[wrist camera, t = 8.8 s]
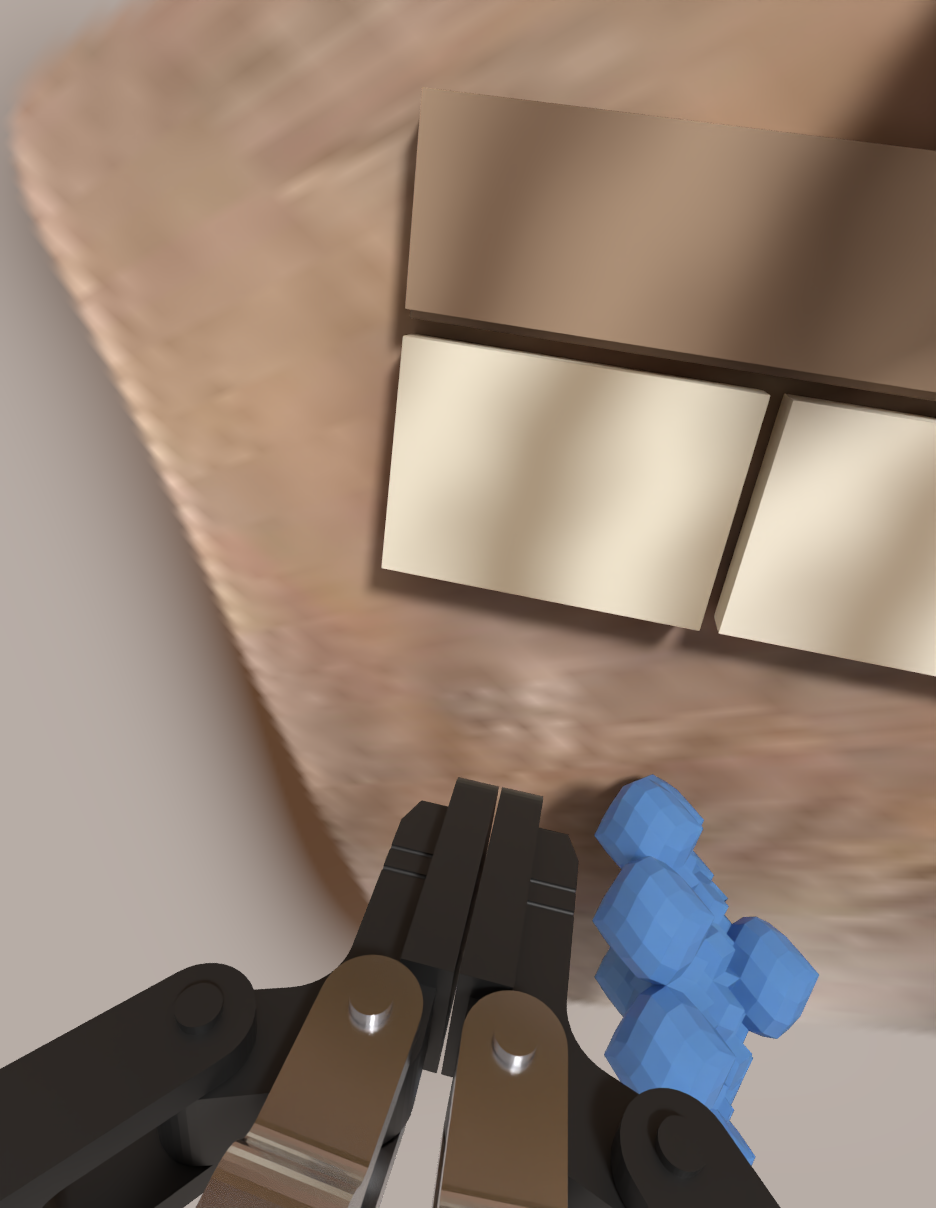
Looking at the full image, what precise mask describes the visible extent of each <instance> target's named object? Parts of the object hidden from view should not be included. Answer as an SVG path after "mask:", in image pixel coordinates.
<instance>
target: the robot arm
mask: <svg viewBox="0 0 936 1208" xmlns="http://www.w3.org/2000/svg"><path fill="white" fill-rule="evenodd" d="M498 789H499V786H494V785H490V784H486V783H481V782H477V781H473V780H468V779H464V778H460V777H458V779H457V781H456V784H455V787H454V790H453V794H452V797H451V800H450V803H449V806H448V807H447V806H443V805H439V804H435V803H430V802H426V801H421V802H419V803H418V804H417V805H416V806H415V807H414V808H413V809H412V810H411V811H410V812H409V813H408V814H407V815H406V816H404V817H403V818H402V819H401V822H400V824H399V827H398V830H397V832H396V835H395V837H394V840H393V842H392V846H391V849H390V850H389V853H388V855H387V858H386V860H385V863H384V867H383V870H382V871H381V873H380V876H379V879H378V881H377V884H376V886H375V889H374V891H373V894H372V897H371V899H370V902H369V904H368V907H367V909H366V912H365V915H364V917H363V920H362V923H361V925H360V928H359V930H358V933H357V935H356V938H355V940H354V943H353V946H352V948H351V950H350V952H349V954H348V955H347V957H346V958H345V960H344V961H343V962H342V963H341V964H340V965H339V966H338V967H337V968H336V969H335V970H334V971H332V972H331V973H330V974H328V975H327V976H325V977H323V978H322V979H320V980H318V981H315V982H313V983H310V984H307V985H303V986H297V987H290V988H289V987H288V988H273V989H258V990H254V989H253V987H252V985H251V983H250V981H249V980H248V979H247V978H246V976H245V975H243V974H242V973H241V972H240V971H238V970H236V969H235V968H233V967H230V966H227V965H224V964H218V963H205V964H199V965H195V966H191V967H188V968H186V969H184V970H181V971H179V972H177V973H175V974H174V975H172V976H170V977H168V978H166V979H164V980H163V981H161V982H159V983H157V984H155V985H153V986H151V987H150V988H148V989H146V990H144V991H142V992H140V993H139V994H137V995H135V996H133V997H131V998H130V999H128V1000H126V1001H124V1002H122V1003H120V1004H119V1005H117V1006H115V1007H113V1008H111V1009H109V1010H107V1011H106V1012H104V1013H102V1014H100V1015H98V1016H97V1017H95V1018H93V1019H91V1020H89V1021H87V1022H85V1023H84V1024H82V1025H80V1026H78V1027H76V1028H75V1029H73V1030H71V1031H69V1032H67V1033H65V1034H63V1035H62V1036H60V1037H58V1038H56V1039H54V1040H52V1041H51V1042H49V1043H47V1044H45V1045H43V1046H41V1047H40V1048H38V1049H36V1050H35V1051H32V1052H31V1053H29V1054H27V1055H25V1056H23V1057H21V1058H20V1059H18V1060H16V1061H14V1062H12V1063H10V1064H9V1065H7V1066H5V1067H3V1068H1V1069H0V1208H183V1207H185V1206H186V1205H187V1204H189V1203H190V1202H191V1201H193V1200H194V1199H195V1198H197V1197H198V1196H199V1195H201V1194H202V1193H203V1194H202V1196H201V1198H200V1200H199V1202H198V1204H197V1206H196V1208H379V1207H380V1204H381V1201H382V1198H383V1195H384V1191H385V1188H386V1185H387V1182H388V1179H389V1176H390V1173H391V1170H392V1167H393V1164H394V1161H395V1157H396V1155H397V1151H398V1148H399V1145H400V1142H401V1139H402V1136H403V1133H404V1130H405V1126H406V1123H407V1121H408V1119H409V1117H410V1115H411V1112H412V1109H413V1105H414V1101H415V1097H416V1093H417V1089H418V1085H419V1080H420V1077H421V1073H422V1069H423V1070H427V1071H430V1072H434V1073H437V1069H438V1065H439V1061H440V1056H441V1052H442V1048H443V1043H444V1038H445V1035H446V1030H447V1026H448V1021H449V1017H450V1013H451V1008H452V1004H453V1000H454V996H455V1000H454V1005H453V1011H452V1016H451V1023H450V1027H449V1033H448V1039H447V1045H446V1050H445V1056H444V1061H443V1067H442V1072H441V1074H443V1075H446V1076H450V1077H453V1081H452V1086H451V1091H450V1097H449V1102H448V1107H447V1112H446V1117H445V1123H444V1128H443V1133H442V1138H441V1145H440V1151H439V1159H438V1166H437V1173H436V1181H435V1187H434V1194H433V1202H432V1208H780V1207H779V1205H778V1204H777V1202H776V1201H775V1199H774V1198H773V1196H772V1195H771V1194H770V1192H769V1191H768V1189H767V1188H766V1186H765V1185H764V1184H763V1182H762V1181H761V1179H760V1178H759V1176H758V1175H757V1173H756V1172H755V1171H754V1169H753V1168H752V1166H751V1165H750V1163H749V1162H748V1161H747V1159H746V1158H745V1156H744V1155H743V1153H742V1152H741V1150H740V1149H739V1148H738V1146H737V1145H736V1143H735V1142H734V1140H733V1139H732V1138H731V1136H730V1135H729V1133H728V1132H727V1130H726V1129H725V1128H724V1126H723V1125H722V1123H721V1122H720V1121H719V1120H718V1118H717V1117H716V1116H715V1115H714V1114H713V1113H712V1112H711V1111H710V1110H709V1109H708V1108H707V1107H706V1106H705V1105H704V1104H702V1103H701V1102H700V1101H699V1100H697V1099H695V1098H694V1097H692V1096H690V1095H689V1094H686V1093H684V1092H681V1091H679V1090H675V1089H670V1088H654V1089H649V1090H647V1091H644V1092H642V1093H640V1094H638V1093H637V1092H635V1091H634V1090H632V1089H630V1088H629V1087H627V1086H626V1085H624V1084H623V1083H621V1082H620V1081H618V1080H616V1079H615V1078H613V1077H612V1076H610V1075H609V1074H607V1073H606V1072H605V1071H603V1070H601V1069H600V1068H599V1067H598V1066H597V1065H595V1063H593V1062H592V1061H591V1060H590V1059H589V1058H588V1057H587V1055H586V1054H585V1053H584V1052H583V1050H582V1049H581V1048H580V1046H579V1044H578V1043H577V1041H576V1040H575V1037H574V1035H573V1033H572V1031H571V1028H570V1025H569V1021H568V1016H567V991H568V979H569V968H570V956H571V944H572V932H573V921H574V917H573V916H574V909H575V897H576V894H575V892H576V885H577V874H578V862H579V861H578V859H577V856H576V854H575V851H574V849H573V846H572V843H571V841H570V838H569V836H568V835H567V834H563V833H559V832H554V831H550V830H546V829H542V828H539V822H540V815H541V809H542V803H543V796H539V795H534V794H530V793H526V792H521V791H517V790H513V789H508V788H504V787H502V790H501V795H500V799H499V803H498V808H497V812H496V816H495V820H494V825H493V829H492V833H491V828H492V822H493V817H494V811H495V806H496V800H497V795H498ZM490 833H491V838H490ZM489 838H490V842H489ZM488 844H489V846H488ZM487 849H488V851H487ZM486 854H487V855H486ZM456 987H457V988H456ZM455 991H456V994H455Z"/></svg>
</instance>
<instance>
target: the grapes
mask: <svg viewBox="0 0 936 1208" xmlns="http://www.w3.org/2000/svg"><path fill="white" fill-rule="evenodd" d="M703 821H704V820H703V818H702V817H701V816H700V815H699V814H698V813H697V811H696V810H695V809H694V808H693V807H692V806H691V804H690V803H689V802H688V801H687V800H686V799H685V798H684V797H683V796H682V795H681V794H680V792H679V791H678V790H677V789H675V788H674V787H673V786H671V785H670V784H668V783H667V782H665V781H664V780H662V779H660V778H658V777H656V776H655V775H650V776H647V777H644V778H642V779H639V780H636V781H634V782H632V783H630V784H627V785H624V786H623V787H622V789H621V790H620V792H619V793H618V794H617V796H616V797H615V799H614V800H613V802H612V803H611V805H610V806H609V808H608V810H607V811H606V813H605V815H604V817H603V819H602V821H601V823H600V825H599V827H598V829H597V831H596V833H595V835H594V836H595V837H596V838H597V840H598V841H599V843H600V844H601V845H602V847H603V848H604V849H605V851H606V852H607V853H608V855H609V856H610V857H611V858H612V859H613V860H614V861H615V862H616V864H617V865H618V866H619V867H620V868H621V869H622V870H621V872H620V873H619V875H618V876H617V878H616V879H615V881H614V882H613V884H612V885H611V887H610V888H609V890H608V891H607V893H606V895H605V896H604V898H603V899H602V901H601V904H600V906H599V908H598V910H597V912H596V914H595V916H594V918H593V920H592V921H593V923H594V924H595V926H596V927H597V929H598V930H599V932H600V933H601V935H602V936H603V937H604V939H605V940H606V942H607V943H608V944H609V946H610V948H609V950H608V952H607V953H606V955H605V956H604V958H603V960H602V962H601V964H600V967H599V969H598V971H597V973H596V975H595V979H596V980H597V982H598V983H599V985H600V986H601V988H602V990H603V991H604V993H605V994H606V996H607V997H608V999H609V1000H610V1001H611V1002H612V1004H613V1005H614V1006H615V1007H616V1009H617V1010H618V1011H619V1013H620V1014H621V1015H622V1016H623V1019H622V1021H621V1022H620V1024H619V1025H618V1027H617V1029H616V1030H615V1032H614V1035H613V1037H612V1039H611V1041H610V1043H609V1045H608V1047H607V1049H606V1051H605V1054H604V1055H605V1057H606V1059H607V1060H608V1062H609V1064H610V1065H611V1067H612V1069H613V1070H614V1072H615V1073H616V1075H617V1077H618V1078H619V1080H620V1082H621V1083H623V1084H624V1085H626V1086H627V1087H629V1088H630V1089H632V1090H634V1091H635V1092H637V1093H638V1094H640V1093H642V1092H644V1091H647V1090H649V1089H654V1088H670V1089H675V1090H679V1091H681V1092H684V1093H686V1094H689V1095H690V1096H692V1097H694V1098H695V1099H697V1100H699V1101H700V1102H701V1103H702V1104H704V1105H705V1106H706V1107H707V1108H708V1109H709V1110H710V1111H711V1112H712V1113H713V1114H714V1115H715V1116H716V1117H717V1118H718V1120H719V1121H720V1122H721V1123H722V1125H723V1126H724V1128H725V1129H726V1130H727V1132H728V1133H729V1135H730V1136H731V1138H732V1139H733V1140H734V1142H735V1143H736V1145H737V1146H738V1148H739V1149H740V1150H741V1152H742V1153H743V1155H744V1156H745V1158H746V1159H747V1161H748V1162H749V1163H750V1165H751V1166H752V1163H753V1161H754V1159H755V1155H754V1154H753V1153H752V1151H751V1149H750V1148H749V1146H748V1145H747V1144H746V1142H745V1141H744V1139H743V1138H742V1136H741V1135H740V1133H739V1132H738V1131H737V1129H736V1128H735V1127H734V1126H733V1125H732V1123H731V1122H730V1121H729V1120H730V1118H731V1116H732V1113H733V1111H734V1109H733V1108H732V1106H731V1104H732V1102H733V1100H734V1098H735V1096H736V1093H737V1091H738V1089H739V1087H740V1085H741V1082H742V1080H743V1078H744V1076H745V1074H746V1072H747V1070H748V1068H749V1066H750V1064H751V1061H752V1060H753V1057H752V1053H751V1052H750V1051H749V1050H748V1049H747V1048H746V1047H745V1046H744V1044H743V1042H744V1040H745V1038H746V1036H747V1033H748V1031H751V1032H753V1033H756V1034H758V1035H760V1036H763V1037H769V1038H775V1039H777V1038H779V1037H780V1036H781V1035H782V1034H783V1033H785V1032H786V1031H787V1030H788V1029H789V1028H790V1027H791V1026H792V1025H793V1024H794V1023H795V1022H796V1021H797V1019H798V1018H799V1017H800V1016H801V1014H802V1012H803V1009H804V1007H805V1005H806V1003H807V1001H808V999H809V996H810V994H811V992H812V990H813V988H814V985H815V983H816V981H817V979H818V976H819V974H818V973H817V972H816V971H815V969H814V968H813V967H812V966H811V965H810V963H809V962H808V961H807V960H806V959H805V958H804V956H803V955H802V954H801V953H800V952H799V951H798V950H797V948H796V947H795V946H794V945H793V944H792V943H791V942H790V941H789V940H788V939H787V937H786V936H785V935H783V934H782V933H781V932H780V931H778V930H777V929H776V928H775V927H773V926H772V925H771V924H770V923H768V922H766V921H764V920H762V919H760V918H758V917H743V918H741V919H739V920H738V921H736V922H735V923H733V924H732V923H731V922H730V921H729V920H728V918H727V917H726V916H725V915H724V914H725V912H726V911H727V909H728V907H729V906H728V905H727V904H726V902H725V901H726V900H727V899H728V898H727V897H726V896H725V895H724V894H723V892H722V891H721V890H720V889H719V888H718V887H717V886H716V885H715V884H714V883H713V882H712V881H711V880H712V878H713V876H714V875H713V873H712V872H711V871H710V870H709V869H708V867H707V866H706V865H705V864H704V862H703V861H702V860H701V859H700V858H699V857H698V856H697V854H696V853H695V852H694V851H693V849H694V847H695V845H696V843H697V841H698V839H699V836H700V834H701V832H702V830H703V828H702V826H701V825H702V823H703Z"/></svg>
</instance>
